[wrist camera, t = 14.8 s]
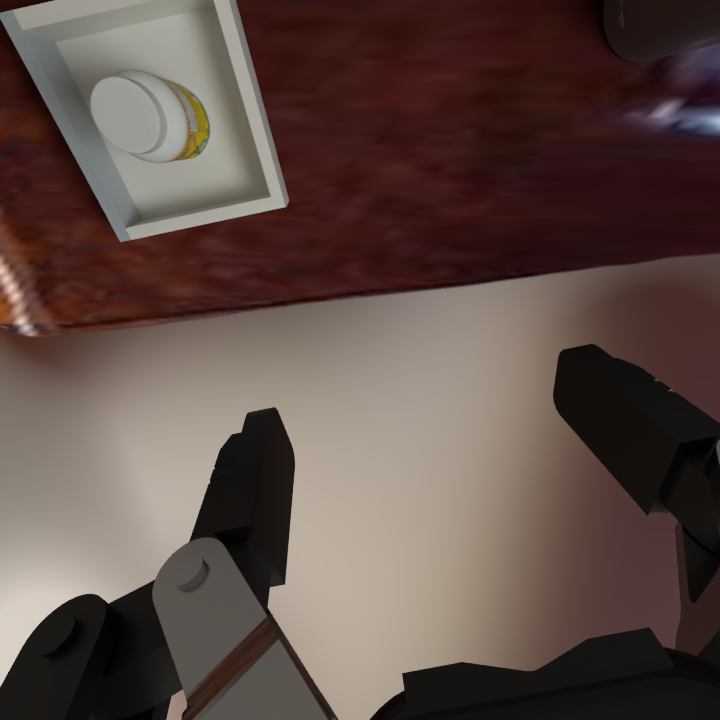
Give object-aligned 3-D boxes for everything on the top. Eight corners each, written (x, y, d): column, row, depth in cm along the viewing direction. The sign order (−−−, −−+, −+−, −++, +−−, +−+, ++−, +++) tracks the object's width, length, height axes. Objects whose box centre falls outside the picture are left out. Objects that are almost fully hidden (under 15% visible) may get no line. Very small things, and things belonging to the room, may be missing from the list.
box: (231, -15, 26) (218, -38, 23) (289, 200, 34) (285, 206, 31) (38, 29, 27) (-3, 13, 23) (140, 232, 35) (120, 242, 31)
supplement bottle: (197, 77, 29) (147, 51, 20) (222, 152, 31) (187, 157, 23) (132, 90, 29) (57, 70, 20) (163, 164, 31) (107, 173, 23)
